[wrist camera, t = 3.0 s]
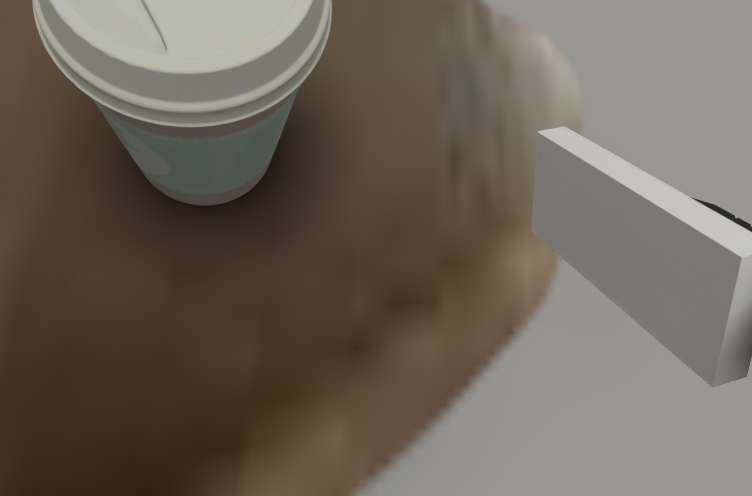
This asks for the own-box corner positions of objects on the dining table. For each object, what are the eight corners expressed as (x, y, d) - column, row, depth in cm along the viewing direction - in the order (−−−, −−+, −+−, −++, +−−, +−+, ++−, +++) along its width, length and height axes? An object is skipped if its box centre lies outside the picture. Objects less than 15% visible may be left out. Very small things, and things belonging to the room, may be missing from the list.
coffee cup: (112, 47, 31) (37, -196, 19) (306, 66, 32) (342, -149, 21) (88, 231, 28) (-14, 74, 17) (300, 243, 30) (337, 106, 18)
